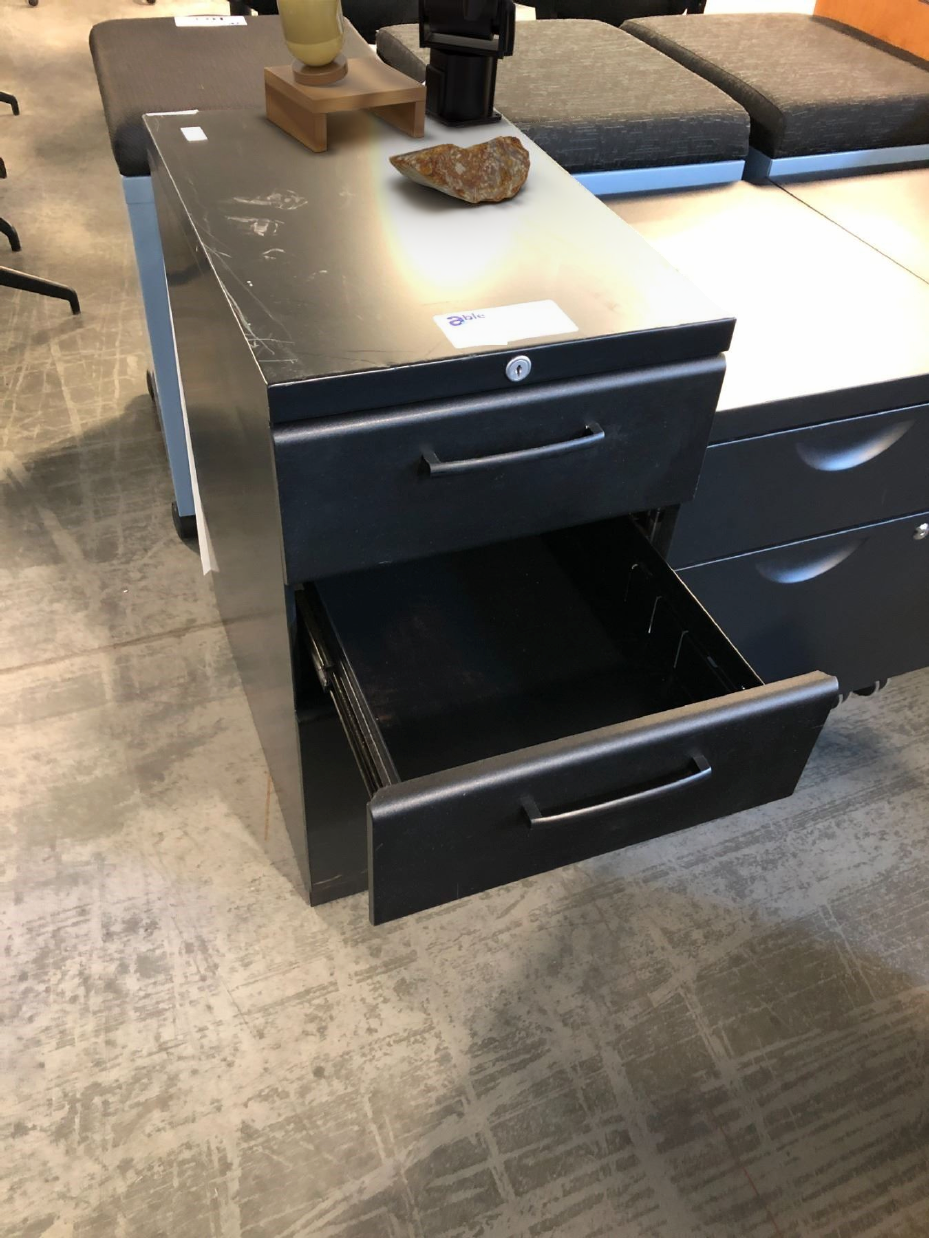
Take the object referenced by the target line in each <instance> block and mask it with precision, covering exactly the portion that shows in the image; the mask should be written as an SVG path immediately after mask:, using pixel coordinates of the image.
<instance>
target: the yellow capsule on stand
mask: <svg viewBox="0 0 929 1238" xmlns="http://www.w3.org/2000/svg"><path fill="white" fill-rule="evenodd" d="M276 5H277V10H278V15H279V21H280V26H281V31H282V36H283V39H284V43H285V45H286V47H287V49H288V51H289V53H290V54H291V55H292V56H293V58H295V59H293V61H292V62H291V65H292V72H293V77H294V79H295V80H296V81H297V82H299V83H301V84H304V85H311V86H319V85H327V84H331V83H334V82H337V81H339V80H341V79H343V78H344V77H345V76H346V75H347V74H348V71H349V68H348V61H347V59H348V57H347V56H346V54H344V52H343V53H342V50H343V49H344V44H345V40H346V26H345V20H344V13H343V5H342V0H276Z"/></svg>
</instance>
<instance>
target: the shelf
mask: <svg viewBox="0 0 929 1238" xmlns="http://www.w3.org/2000/svg"><path fill="white" fill-rule="evenodd" d="M347 61H348V68H349V71H348V74H347V75H346V76H345V77H344V78H343V79H341V80H339V81H337V82H334V83H331V84H327V85H319V86H311V85H304V84H301V83H299V82H297V81H296V80H295V79H294V77H293V72H292V64H285V65H274V66H263V77H264V79H263V80H264V96H265V99H264V100H265V115H266V116H265V117H266V119H268V120H269V121H270V122H272V123H273V124H274V125H276V126H277V127H279V128H280V129H281V130H283V131H284V132H286V133H287V134H289V135H290V136H291V137H292V138H294V139H295V140H297V141H299V142H300V143H301V144H303V145H304V146H306V147H307V148H309V149H310V150H311V151H313V152H314V153H321V152H327V151H328V148H327V146H328V145H327V143H328V142H327V140H328V139H327V138H328V137H327V113H334V112H335V113H336V112H341V111H350V110H357V109H366V110H368V111H370V112H371V113H373V114H374V115H376V116H378V117H379V118H381V119H383V120H384V121H386V122H387V123H389V124H391V125H392V126H394V127H396V128H397V129H398V130H400V131H402V132H403V133H405V134H407V135H409V136H410V137H412V138H414V139H416V138H423V137H424V136H425V124H426V112H425V105H426V101H425V100H426V88H427V87H426V86H425V84H423V83H421V82H419V81H418V80H416V79H414V78H413V77H410V76H409V75H407V74H404V73H403V72H401V71H399V70H398V69H395V68H394V67H392V66H390V65H388V64H387V63H385V62H383V61H381V60H380V59H377V58H376V57H375V56H366V57H364V56H363V57H355V58H354V57H353V58H347Z"/></svg>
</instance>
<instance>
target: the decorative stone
mask: <svg viewBox="0 0 929 1238" xmlns="http://www.w3.org/2000/svg"><path fill="white" fill-rule="evenodd" d="M388 161H389V163H390V165H391V166H393V167H394V168H395V169H396V171H397V172H399V173H400V174H401V175H402V176H403V177H405V178H407V179H408V180H410V181H412V182H415V183H417V184H419V185H421V186H426V187H428V188H432V189H435V190H437V191H439V192H442V193H444V194H446V195H447V196H450V197H454V198H457V199H459V200H463V201H466V202H469V203H472V204H477V203H479V202H495V203H496V202H500V201H502V200H503V199H510V198H513V197H514V196H515V194H517V193H518V191H519V190H520V188H521V186H522V185H524V184H525V183H526V182H527V179H528V176H529V173H530V172H529V171H530V168H531V160H530V151H529V150H528V149H526V148H525V146H524V145H523V144H522V142H521V140H520V138H518V137H517V136H512V135H508V136H507V135H506V136H502V135H499V136H496V137H494V138H492V139H489V140H488V141H484V142H482V143H481V142H480V143H477V144H473V145H471V146H468V147H465V148H464V147H461V146H458V145H456V144H454V143H441V144H437V145H433V146H430V147H425V148H421V149H416V150H412V151H408V152H405V153H400V154H396V155H392V156H389V158H388Z"/></svg>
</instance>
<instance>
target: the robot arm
mask: <svg viewBox="0 0 929 1238" xmlns="http://www.w3.org/2000/svg"><path fill="white" fill-rule="evenodd" d="M417 5H418V11H417V12H418V13H417V14H418V48H419V49H429V63H427V64H426V65H425V75H424V76H425V77H424V85H425V86H426V87H427V88H426V100H425V101H426V105H425V114H426V115H427V114H428V115H429V116H431V117H432V118H434V119H436V120H438V121H439V122H441V123H443V124H445V125H446V126H448V127H451V128H459V127H466V126H472V125H479V124H487V123H493V122H500V121H502V120H503V114H501V113H499V112H498V111H496V110H495V109H494V105H495V94H496V87H497V86H496V83H497V74H498V65H499V64H498V63H499V60H504V58H506V57H513V55H514V49H515V40H516V27H517V25H516V21H517V20H516V19H517V13H516V12H517V5H516V4H515V2H514V0H418V4H417ZM495 36H498V38H494V37H495Z"/></svg>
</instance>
